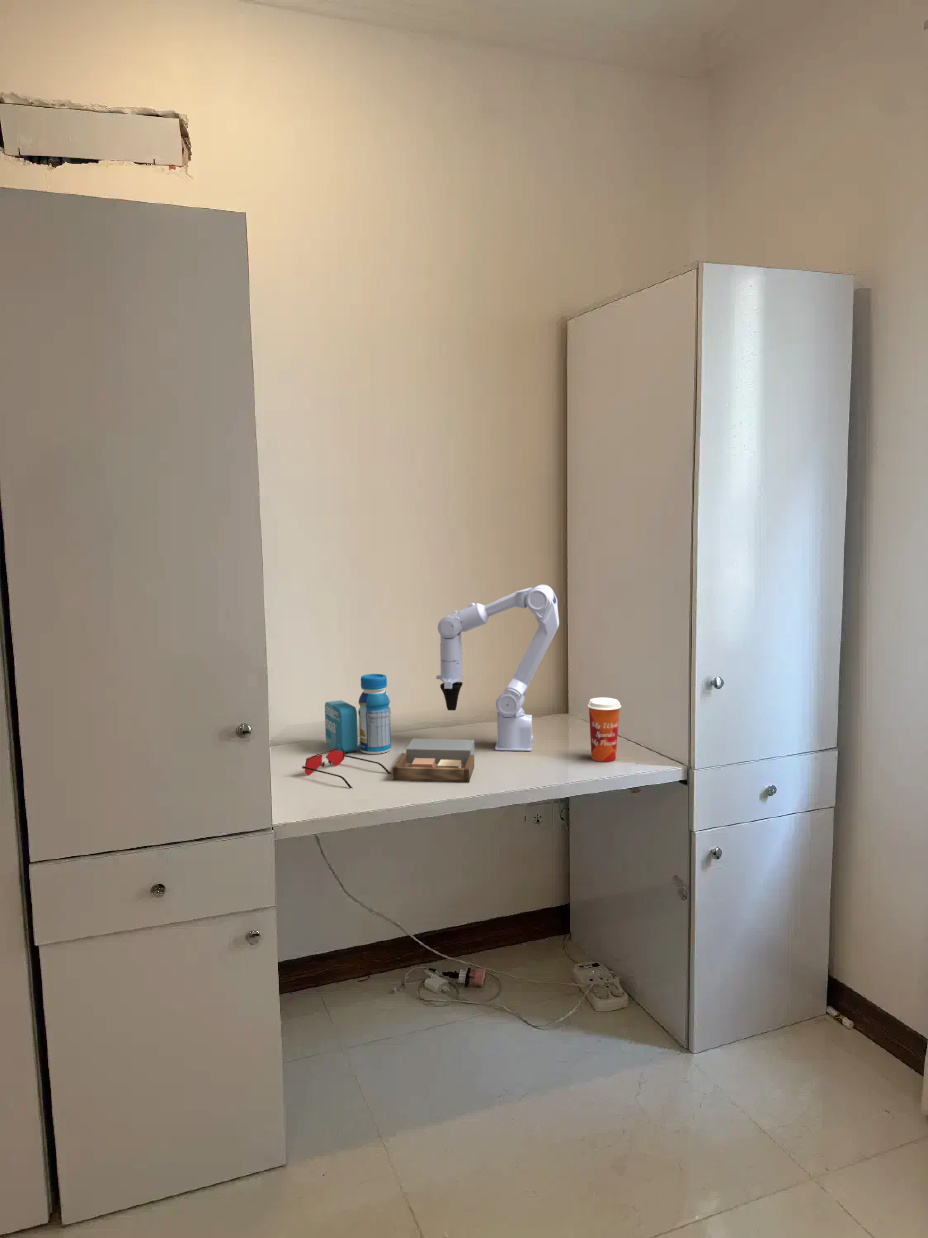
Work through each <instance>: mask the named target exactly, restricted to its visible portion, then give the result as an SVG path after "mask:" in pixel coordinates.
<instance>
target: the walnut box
mask: <svg viewBox="0 0 928 1238" xmlns="http://www.w3.org/2000/svg"><path fill="white" fill-rule="evenodd" d="M437 765H438V763H435V768H434V767H412V763H407V753H406V752H405V753H403V752H402V753H401V754H400V755H399V757H398V759H397V760H396V761H395V763H394V765H393V767H392V781H394V780H409V782H438V783H439V782H440V783H442V782H444V783H446V782H447V783H470V782H471V778H472V774H473V772H474V769H475V754H474V755H469V757H468V760H467V763H466V764H461V768H437Z"/></svg>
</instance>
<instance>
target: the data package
mask: <svg viewBox="0 0 928 1238" xmlns="http://www.w3.org/2000/svg"><path fill="white" fill-rule="evenodd" d="M324 723H325V724H324V726H325V727H324V728H325V742H326V744H327V746H329V747H330V748H331V749H333V750H334V749H337V748H342V749H343V750H344V752H345V754H346V752H347V753H352V752H356V751H358V749H359V745H358V743H359V742H358V741H359V740H358V711H357V708H356V706H354V705H352V704H350V703H349V702H346V701H344V700H342V699H339V700H332V701H331V700H330V701H325V703H324ZM342 749H337V751H341V752H343V750H342Z"/></svg>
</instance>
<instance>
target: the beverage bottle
mask: <svg viewBox="0 0 928 1238" xmlns="http://www.w3.org/2000/svg"><path fill="white" fill-rule="evenodd" d="M387 686H388V680H387V675H386V674H383V673H382V674H381V673H370V674H368V673H367V674H363V675H361V677H360V687H361V690H362V692H361V694H360V696H359V699H358V705H359V709H358V711H357V715H358V722H359V723H358V724H359V727H358V728H359V750H360V752H361V753H364V754H367V755H381V753H382V754H385V752H386V753H388V752H390V751H391V749H392V744H391V735H392V734H391V733H392V732H391V714H392V711H391V707H390V703H391V699H390V695H388V692H387V691H386V690H385V689H387Z"/></svg>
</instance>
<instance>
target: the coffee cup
mask: <svg viewBox="0 0 928 1238" xmlns="http://www.w3.org/2000/svg"><path fill="white" fill-rule="evenodd" d="M587 707H588V711H589V712H588V714H589V718H588V719H589V736H590V751H591V752H590V753H591V754H590V755H591V759H592V761H595V762H598V761H599V763H610V761H612V762H614V761H616V759H617V758H616V757H617V746H618V732H619V722H620V721H619V720H620V719H619V718H620V708H622V705H621V703H620V701H619V700H618V699H616V698H611V697H594V698H590V699H589V702H588V704H587Z"/></svg>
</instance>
